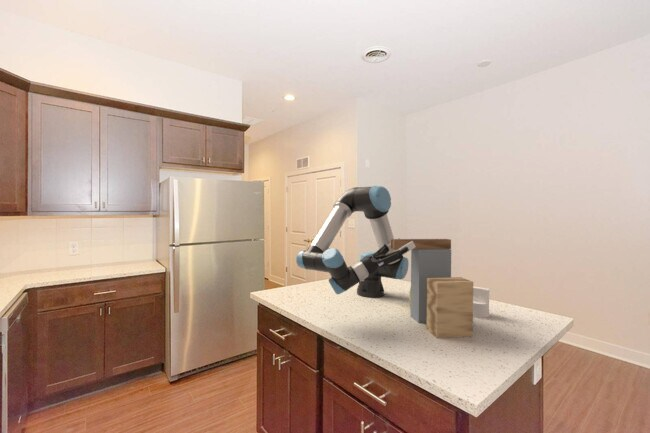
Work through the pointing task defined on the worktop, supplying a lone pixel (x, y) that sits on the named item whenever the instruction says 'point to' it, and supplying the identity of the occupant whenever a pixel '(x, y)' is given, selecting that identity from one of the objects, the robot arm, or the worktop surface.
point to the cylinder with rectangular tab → (480, 302)
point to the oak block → (450, 307)
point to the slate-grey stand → (424, 267)
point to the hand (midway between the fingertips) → (407, 242)
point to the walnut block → (422, 243)
